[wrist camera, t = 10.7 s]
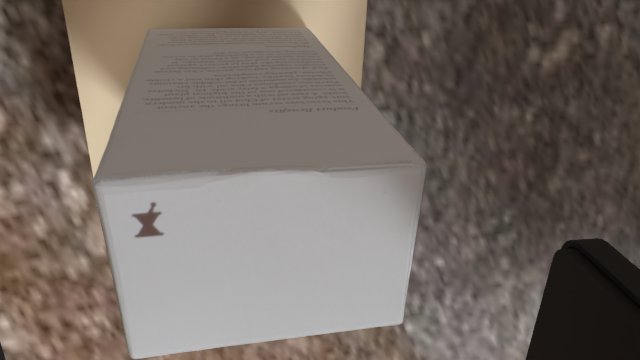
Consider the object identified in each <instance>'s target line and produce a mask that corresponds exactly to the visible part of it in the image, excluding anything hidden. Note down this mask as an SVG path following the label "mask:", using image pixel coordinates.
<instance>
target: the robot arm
mask: <svg viewBox="0 0 640 360" xmlns="http://www.w3.org/2000/svg"><path fill="white" fill-rule="evenodd" d="M0 360H5V356H4V353H3V350H2V347H1V343H0ZM526 360H640V269H638V268H637V267H636V266H635V265H634V264H633V263H631V262H630V261H629V260H628V259H627V258H625V257H624V256H623V255H622V254H621V253H620V252H618V251H617V250H616V249H615V248H614V247H612V246H611V245H610V244H609V243H608V242H606V241H605V240H603V239H598V238H596V239H582V240H570V241H567V242H565V244H564V245H563V246H562V248H561V249H560V250H557V252H556V253H555V255H554V257H553V260H552V264H551V268H550V272H549V275H548V279H547V283H546V286H545V290H544V294H543V297H542V301H541V305H540V309H539V312H538V316H537V320H536V323H535V327H534V331H533V334H532V338H531V342H530V346H529V349H528V353H527V357H526Z"/></svg>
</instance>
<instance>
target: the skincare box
mask: <svg viewBox="0 0 640 360" xmlns="http://www.w3.org/2000/svg"><path fill="white" fill-rule="evenodd" d="M425 174H426V163H425V161H424V160H423V159H422V158H421V156H420V155H419V154H418V153H417V152H416V151H415V150H414V149H413V148H412V147H411V146H410V145H409V143H408V142H407V141H406V140H405V139H404V138H403V136H402V135H401V134H400V133H399V132H398V131H397V130H396V129H395V127H394V126H393V125H392V124H391V123H390V122H389V121H388V120H387V119H386V117H385V116H384V115H383V114H382V113H381V112H380V111H379V109H378V108H377V107H376V106H375V105H374V104H373V103H372V101H371V100H370V99H369V98H368V97H367V96H366V94H365V93H364V92H363V91H362V90H361V89H360V87H359V86H358V85H357V84H356V83H355V81H354V80H353V79H352V78H351V77H350V76H349V75H348V74H347V72H346V71H345V70H344V69H343V68H342V67H341V65H340V64H339V63H338V62H337V61H336V59H335V58H334V57H333V56H332V55H331V54H330V52H329V51H328V50H327V49H326V48H325V47H324V45H323V44H322V43H321V42H320V41H319V40H318V39H317V37H316V36H315V35H314V34H313V33H312V32H311V31H310V29H308V28H306V27H299V28H187V29H149V30H148V32H147V34H146V37H145V39H144V42H143V45H142V48H141V51H140V53H139V56H138V60H137V62H136V65H135V67H134V70H133V73H132V75H131V78H130V81H129V84H128V86H127V89H126V92H125V95H124V98H123V100H122V103H121V106H120V109H119V111H118V114H117V117H116V120H115V123H114V126H113V129H112V131H111V134H110V138H109V141H108V144H107V146H106V149H105V151H104V153H103V156H102V158H101V161H100V164H99V166H98V169H97V171H96V174H95V176H94V179H93V182H92V187H93V191H94V195H95V200H96V204H97V208H98V213H99V217H100V222H101V226H102V231H103V235H104V240H105V245H106V249H107V254H108V259H109V263H110V268H111V273H112V277H113V282H114V287H115V292H116V296H117V301H118V306H119V311H120V315H121V320H122V325H123V330H124V335H125V340H126V345H127V349H128V353H129V356H130V357H131V358H134V359H139V358H146V357H154V356H160V355H167V354H173V353H180V352H188V351H196V350H203V349H211V348H218V347H225V346H233V345H241V344H249V343H257V342H265V341H273V340H281V339H289V338H296V337H304V336H311V335H318V334H326V333H333V332H341V331H350V330H358V329H365V328H373V327H381V326H391V325H399V324H401V323H402V322H403V316H404V307H405V301H406V295H407V289H408V282H409V276H410V270H411V264H412V257H413V251H414V245H415V238H416V232H417V225H418V219H419V212H420V206H421V199H422V193H423V186H424V180H425Z"/></svg>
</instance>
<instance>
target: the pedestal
mask: <svg viewBox="0 0 640 360" xmlns="http://www.w3.org/2000/svg"><path fill="white" fill-rule="evenodd" d="M62 4H63V10H64V15H65V21H66V27H67V32H68V38H69V43H70V49H71V54H72V60H73V66H74V71H75V77H76V82H77V88H78V93H79V99H80V104H81V110H82V116H83V121H84V127H85V132H86V138H87V143H88V149H89V155H90V160H91V166H92V171H93V177H94V176H95V174H96V171H97V169H98V166H99V164H100V161H101V158H102V156H103V153H104V151H105V149H106V146H107V144H108V141H109V138H110V134H111V131H112V129H113V126H114V123H115V120H116V117H117V114H118V111H119V109H120V106H121V103H122V100H123V98H124V95H125V92H126V89H127V86H128V84H129V81H130V78H131V75H132V73H133V70H134V67H135V65H136V62H137V60H138V56H139V53H140V51H141V48H142V45H143V42H144V39H145V37H146V34H147V32H148V30H149V29H187V28H299V27H306V28H308V29H310V31H311V32H312V33H313V34H314V35H315V36H316V37H317V39H318V40H319V41H320V42H321V43H322V44H323V45H324V47H325V48H326V49H327V50H328V51H329V52H330V54H331V55H332V56H333V57H334V58H335V59H336V61H337V62H338V63H339V64H340V65H341V67H342V68H343V69H344V70H345V71H346V72H347V74H348V75H349V76H350V77H351V78H352V79H353V80H354V81H355V83H356V84H357V85H358V86H359V87H360V89H361V81H362V67H363V53H364V39H365V25H366V11H367V0H62Z"/></svg>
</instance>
